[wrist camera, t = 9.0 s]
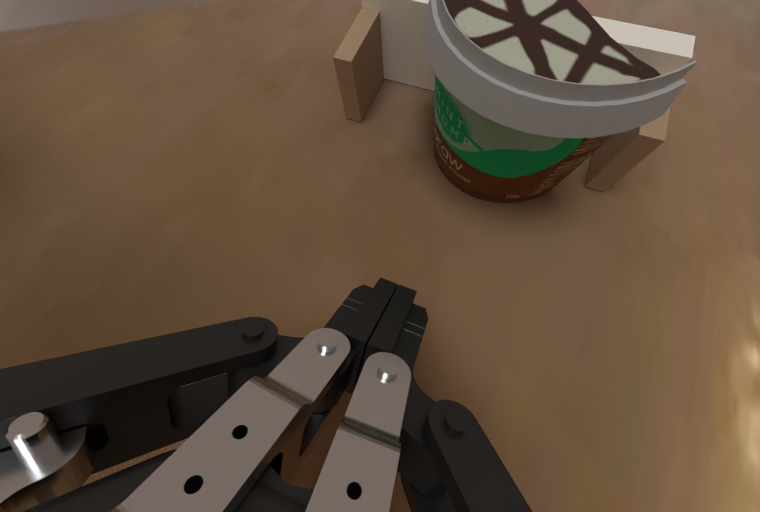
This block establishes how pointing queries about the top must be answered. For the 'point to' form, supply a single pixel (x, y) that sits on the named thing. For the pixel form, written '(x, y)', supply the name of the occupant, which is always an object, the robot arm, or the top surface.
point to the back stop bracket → (410, 66)
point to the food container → (531, 92)
